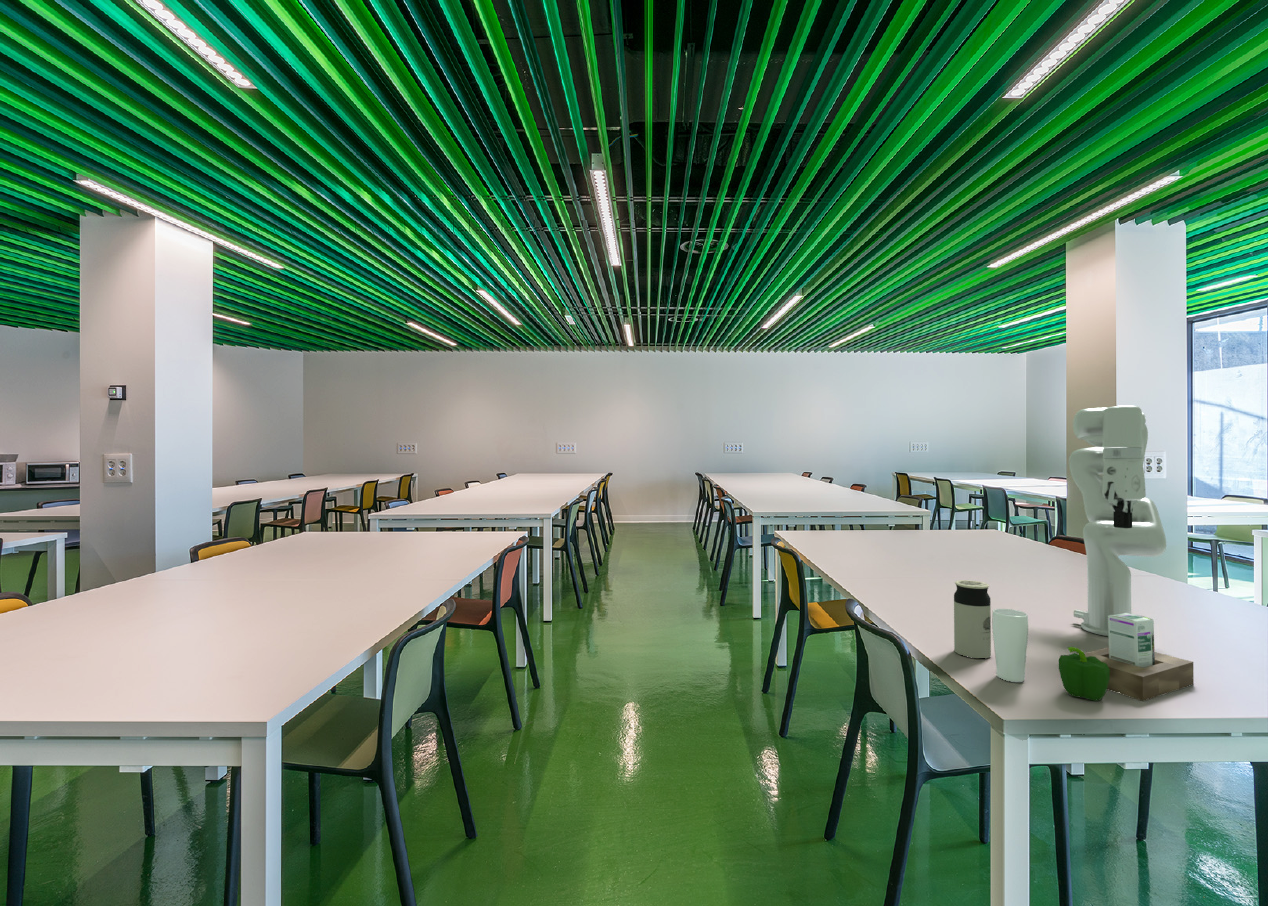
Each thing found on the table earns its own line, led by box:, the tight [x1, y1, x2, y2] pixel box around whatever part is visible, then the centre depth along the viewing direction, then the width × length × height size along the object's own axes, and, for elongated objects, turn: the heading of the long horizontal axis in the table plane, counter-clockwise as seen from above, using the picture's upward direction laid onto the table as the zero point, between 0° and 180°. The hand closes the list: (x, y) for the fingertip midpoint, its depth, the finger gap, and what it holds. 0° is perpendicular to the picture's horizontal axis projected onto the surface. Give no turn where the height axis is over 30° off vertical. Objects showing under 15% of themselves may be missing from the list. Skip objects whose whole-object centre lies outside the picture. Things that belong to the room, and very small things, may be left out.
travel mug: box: [953, 579, 992, 659], centre depth 142 cm, size 8×8×18 cm
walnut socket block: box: [1084, 646, 1195, 702], centre depth 125 cm, size 13×20×5 cm, turn 113°
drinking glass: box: [991, 608, 1029, 683], centre depth 127 cm, size 7×7×15 cm
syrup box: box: [1107, 613, 1156, 668], centre depth 125 cm, size 6×6×14 cm
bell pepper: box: [1057, 646, 1110, 701], centre depth 118 cm, size 8×8×10 cm
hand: (1122, 527), depth 141 cm, fingers closed
